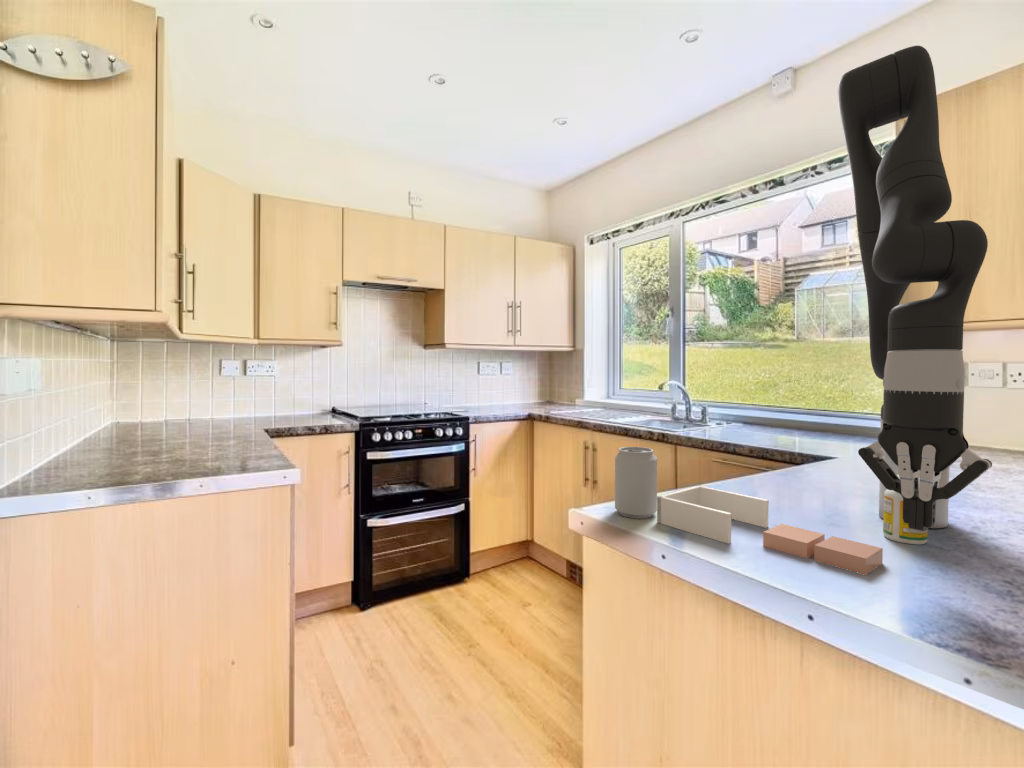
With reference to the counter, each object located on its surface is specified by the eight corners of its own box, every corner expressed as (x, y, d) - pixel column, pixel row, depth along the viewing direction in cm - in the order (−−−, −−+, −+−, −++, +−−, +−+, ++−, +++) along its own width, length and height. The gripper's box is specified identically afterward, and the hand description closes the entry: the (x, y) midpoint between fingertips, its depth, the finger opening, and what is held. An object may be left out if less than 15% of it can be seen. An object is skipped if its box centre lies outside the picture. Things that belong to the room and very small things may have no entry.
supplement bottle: (875, 536, 76) (876, 475, 76) (894, 531, 79) (895, 472, 78) (916, 547, 71) (917, 482, 71) (935, 541, 74) (936, 479, 73)
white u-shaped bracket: (698, 509, 91) (698, 485, 91) (768, 526, 81) (768, 500, 81) (657, 522, 84) (657, 496, 83) (728, 543, 73) (728, 514, 73)
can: (652, 508, 92) (653, 445, 92) (660, 520, 85) (661, 452, 84) (612, 507, 93) (612, 444, 93) (617, 519, 85) (617, 451, 85)
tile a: (781, 539, 76) (781, 523, 76) (824, 551, 71) (824, 534, 71) (763, 548, 72) (763, 531, 72) (806, 560, 68) (807, 543, 68)
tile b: (832, 553, 71) (832, 536, 70) (882, 566, 66) (882, 548, 66) (814, 563, 67) (814, 545, 67) (865, 577, 62) (865, 558, 62)
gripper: (1005, 389, 56) (1000, 538, 57) (869, 386, 67) (866, 511, 67) (990, 390, 52) (985, 551, 52) (848, 386, 62) (844, 520, 63)
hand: (918, 528), depth 60 cm, fingers closed
